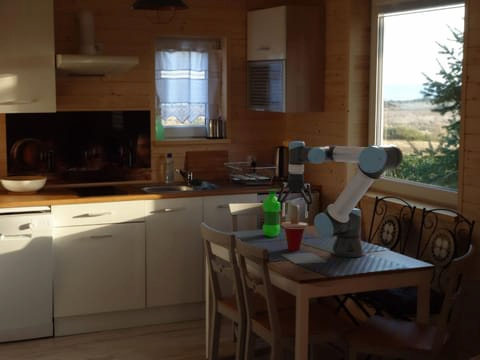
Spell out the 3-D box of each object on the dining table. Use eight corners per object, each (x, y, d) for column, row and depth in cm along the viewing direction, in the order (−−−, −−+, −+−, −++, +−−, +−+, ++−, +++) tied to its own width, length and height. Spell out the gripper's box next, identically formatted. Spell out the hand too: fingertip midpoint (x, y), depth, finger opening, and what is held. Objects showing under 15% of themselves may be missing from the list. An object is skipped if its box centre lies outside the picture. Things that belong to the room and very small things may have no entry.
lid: (312, 226, 384) (313, 205, 383) (296, 227, 375) (297, 206, 374) (292, 223, 393) (293, 203, 392) (276, 225, 383) (276, 204, 383)
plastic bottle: (258, 234, 420) (260, 188, 416) (277, 233, 423) (278, 188, 420) (265, 238, 410) (266, 191, 407) (283, 237, 413) (284, 191, 410)
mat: (327, 262, 360) (327, 261, 360) (295, 264, 355) (295, 263, 355) (311, 253, 377) (311, 252, 377) (281, 255, 372) (281, 254, 372)
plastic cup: (304, 247, 390) (305, 224, 389) (304, 252, 380) (305, 228, 378) (283, 246, 391) (284, 223, 390) (282, 251, 381) (283, 227, 379)
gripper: (320, 173, 381) (319, 216, 384) (274, 170, 386) (273, 214, 389) (318, 174, 374) (317, 219, 377) (271, 172, 379) (270, 216, 382)
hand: (294, 216), depth 383 cm, fingers open, 11 cm apart
